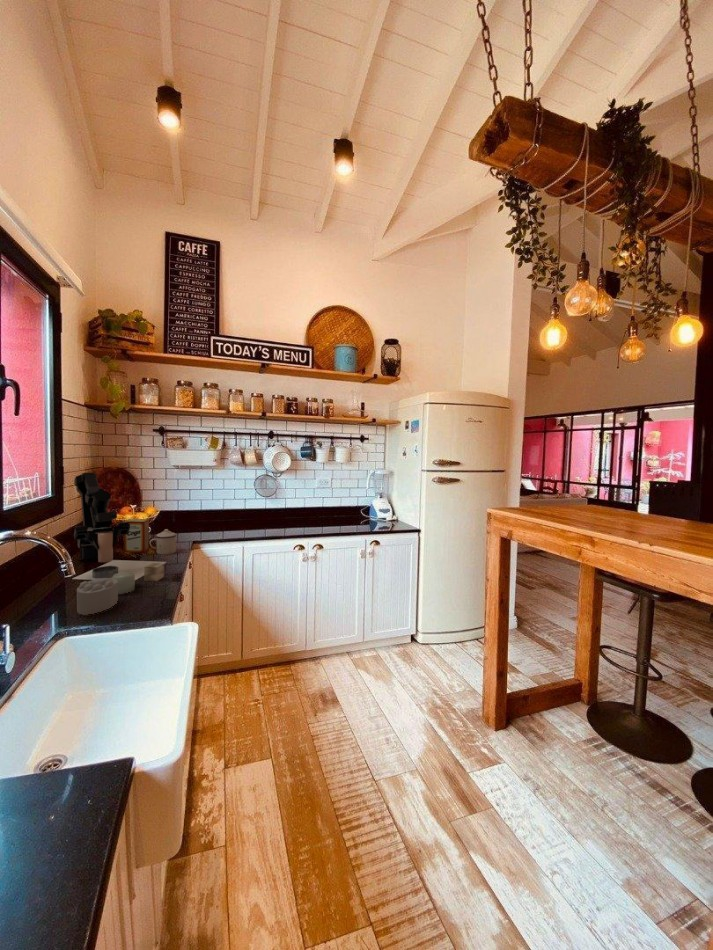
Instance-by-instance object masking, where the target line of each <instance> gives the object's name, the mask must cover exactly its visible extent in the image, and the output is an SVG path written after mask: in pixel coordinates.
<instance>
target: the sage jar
mask: <svg viewBox="0 0 713 950" xmlns="http://www.w3.org/2000/svg"><path fill="white" fill-rule="evenodd" d="M113 580H117V581H118V595H124V594H123V593H127V594H129V593H128V592H130V593H132V592H131V591H133V590H134V589H135V587H136V585H135V584H136V583H135V582H136V580H135V573H133V572H121V573H117V574H114V575H113ZM135 590H136V589H135ZM135 590H134V591H135ZM134 591H133V592H134Z"/></svg>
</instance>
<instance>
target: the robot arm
mask: <svg viewBox="0 0 713 950" xmlns="http://www.w3.org/2000/svg"><path fill="white" fill-rule="evenodd" d="M98 480H99V479H98V475H96V472H82V473H81V474H78V475H76V476H75V478H74V480H73V481H74V482H73V483H74V484H73V485H74V487H75V488H76V492H77V493H78V494H79V495H80V497H81V498H80V499H81V512H82V522H83V525H79V526H78V525H77V526H75V528H74V530H73V531H74V533H73V537H74V540H75V541H77V547H78V548H79V549H80V559H82V560H83V561H82V562H94V561H96V560H98V550H99V545H98V533H101V532H113V549H114V548H116V547H115V546H116V543H117V542H116V541H117V538H118V537H121V536H124V535H125V534H128V532H129V529H130V523H128V522H124V521H122V522H120V521H119V522H118V523H117V525H115V526H112V524H113V522H112V521H113V520H117V518H118V515H117V514H118V513H117V510H111V511H108V508H109V504H110V500H111V495H112V494H111V493H110V492H109V491H108V490H105V488H103V487H100V486H99V483H98Z"/></svg>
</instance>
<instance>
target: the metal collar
mask: <svg viewBox="0 0 713 950" xmlns="http://www.w3.org/2000/svg"><path fill="white" fill-rule="evenodd" d="M97 567H98V568H97ZM97 567H96V568H93V569H92V570H93V571H92V577H93V578H111V577H113V575H114V574H117V573H118V567H117V566H103V567H99V566H97Z"/></svg>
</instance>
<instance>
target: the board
mask: <svg viewBox="0 0 713 950" xmlns="http://www.w3.org/2000/svg"><path fill="white" fill-rule="evenodd" d="M150 563H164V564H166V563H167V561H152V560H150V561H149V560H148V561H147V560H124V559H123V560H121V559H113V560H112V561H109V562H105V563H104V564H103V565H100V566H97V567H96V568H98V567H103V566H117V567H118V573H121V572H133V573H135V581H136V580H138V579H140V578H142V577H144V567H145V566H146V565H148V564H150ZM92 571H93V569H91V570H87V571H86V572H84V573H82V574H80V575H77V576H75V577H73V578H72V580H83V581H91V580H93V579H95V578H93V577H92ZM110 579H112V580H113V577H111V578H110ZM83 581H82V582H83ZM74 582H75V584H81V583H82V582H79V581H74ZM76 582H77V583H76Z"/></svg>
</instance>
